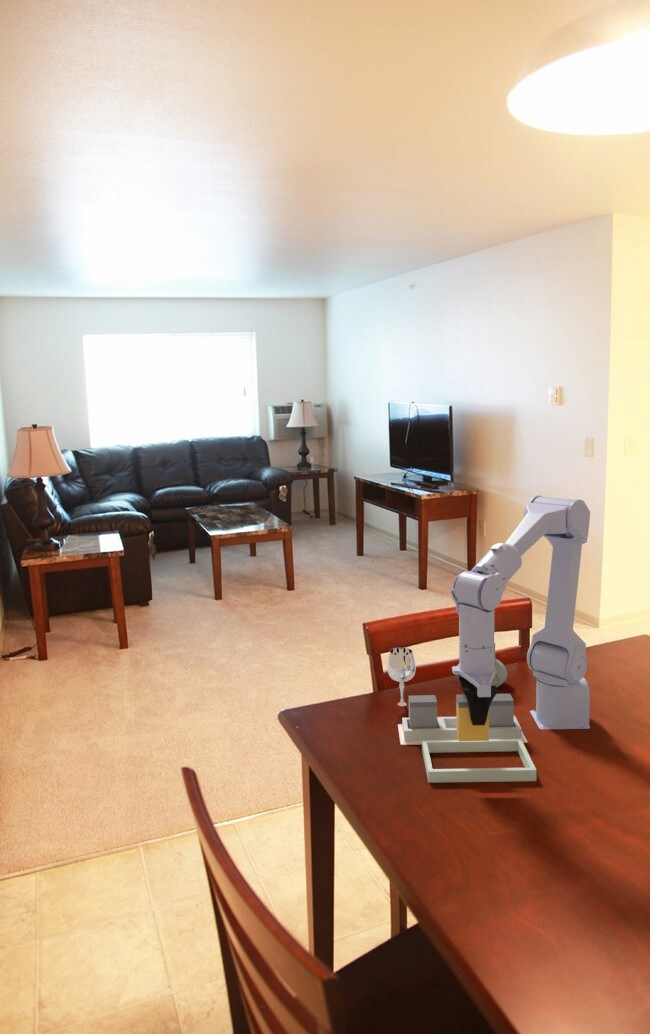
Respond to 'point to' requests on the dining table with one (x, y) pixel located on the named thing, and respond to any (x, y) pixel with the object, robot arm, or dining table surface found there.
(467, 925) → the dining table surface
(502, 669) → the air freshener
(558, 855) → the dining table surface
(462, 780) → the tray
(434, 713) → the block
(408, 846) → the dining table surface
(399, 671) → the wineglass
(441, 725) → the fuse holder
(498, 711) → the block
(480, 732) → the block
